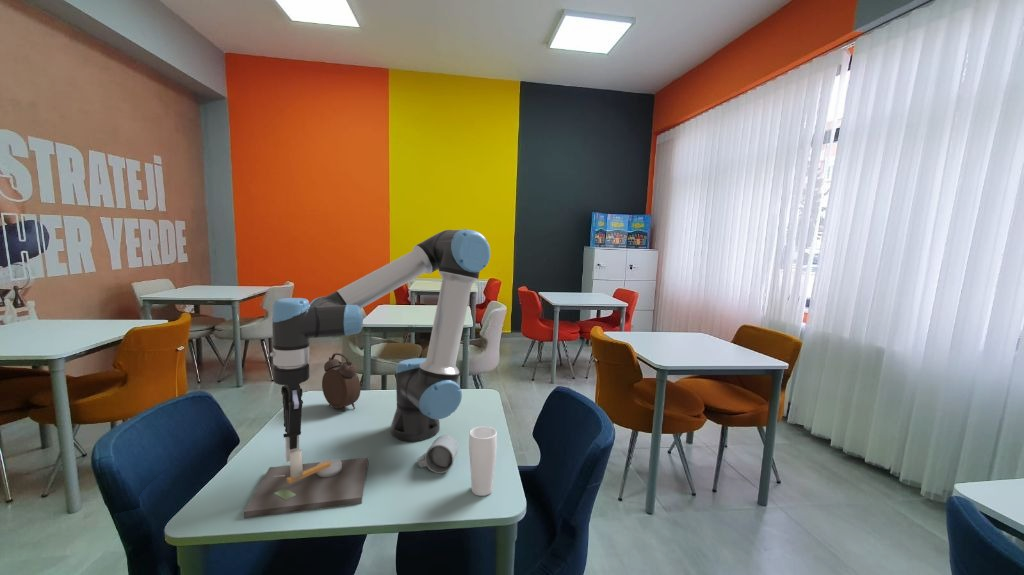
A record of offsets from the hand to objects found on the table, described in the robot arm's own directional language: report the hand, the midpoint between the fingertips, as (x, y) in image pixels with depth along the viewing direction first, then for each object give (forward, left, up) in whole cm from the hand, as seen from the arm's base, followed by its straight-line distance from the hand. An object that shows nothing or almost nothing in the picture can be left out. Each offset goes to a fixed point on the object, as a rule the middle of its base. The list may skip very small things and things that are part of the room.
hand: (292, 459), depth 100 cm
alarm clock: (-5, -48, -8) cm, 49 cm away
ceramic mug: (-35, -3, -8) cm, 36 cm away
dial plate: (-5, +1, -7) cm, 9 cm away
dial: (-5, -1, -6) cm, 8 cm away
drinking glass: (-45, +11, -8) cm, 46 cm away
